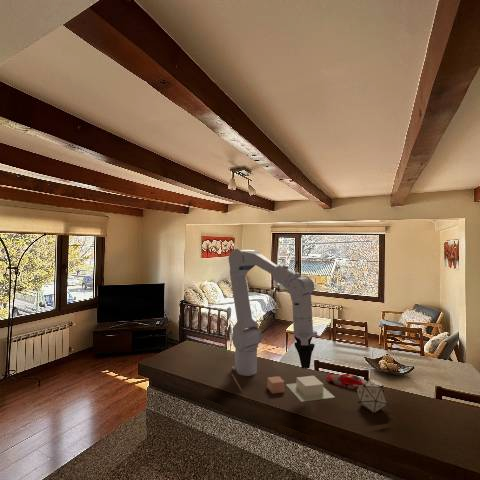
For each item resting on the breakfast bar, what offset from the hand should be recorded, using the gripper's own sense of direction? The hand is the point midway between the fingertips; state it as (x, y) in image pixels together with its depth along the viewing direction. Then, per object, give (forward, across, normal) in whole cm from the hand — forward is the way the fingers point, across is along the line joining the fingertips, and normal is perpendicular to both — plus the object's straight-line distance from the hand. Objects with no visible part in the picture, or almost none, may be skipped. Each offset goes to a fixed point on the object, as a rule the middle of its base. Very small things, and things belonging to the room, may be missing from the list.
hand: (305, 363), depth 89 cm
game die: (+12, -2, -17) cm, 21 cm away
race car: (+11, +11, -13) cm, 21 cm away
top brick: (+10, +3, +9) cm, 14 cm away
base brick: (+10, +4, -1) cm, 10 cm away
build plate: (+10, +4, -1) cm, 11 cm away
